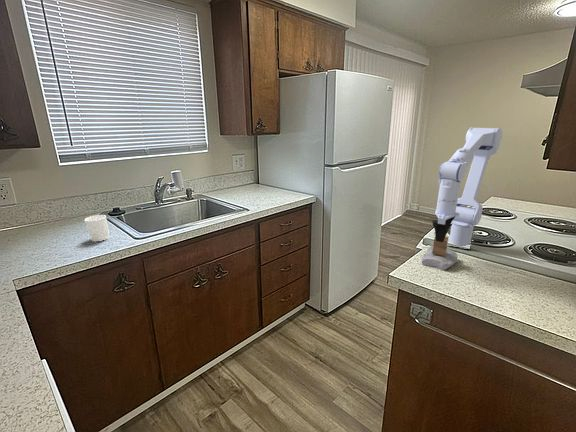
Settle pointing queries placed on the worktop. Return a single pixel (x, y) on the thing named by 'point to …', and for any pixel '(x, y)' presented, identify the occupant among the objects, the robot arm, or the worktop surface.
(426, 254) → the stone block
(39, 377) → the worktop surface
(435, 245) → the walnut block
